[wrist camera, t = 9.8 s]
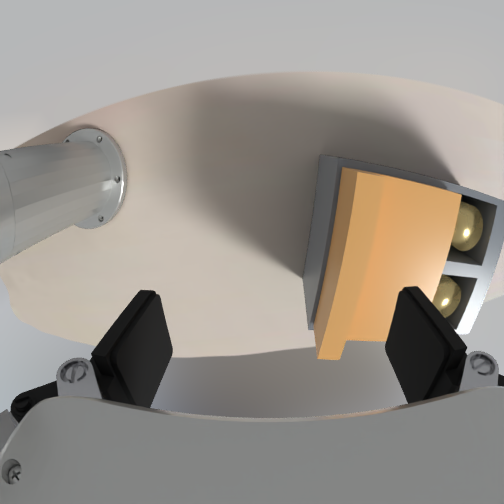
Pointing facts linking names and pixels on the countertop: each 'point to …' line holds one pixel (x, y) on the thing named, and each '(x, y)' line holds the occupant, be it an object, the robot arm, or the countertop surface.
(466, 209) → the pin
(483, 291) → the housing
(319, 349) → the cover
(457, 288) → the pin
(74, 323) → the countertop surface
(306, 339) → the countertop surface
